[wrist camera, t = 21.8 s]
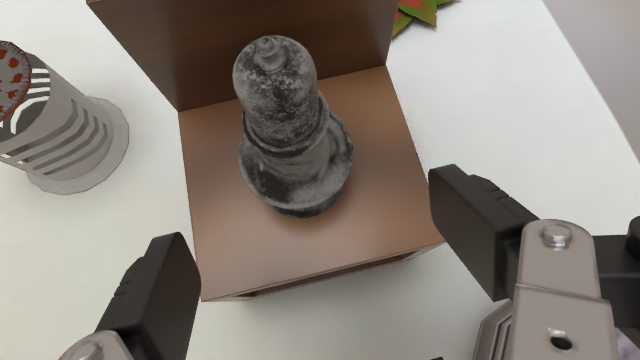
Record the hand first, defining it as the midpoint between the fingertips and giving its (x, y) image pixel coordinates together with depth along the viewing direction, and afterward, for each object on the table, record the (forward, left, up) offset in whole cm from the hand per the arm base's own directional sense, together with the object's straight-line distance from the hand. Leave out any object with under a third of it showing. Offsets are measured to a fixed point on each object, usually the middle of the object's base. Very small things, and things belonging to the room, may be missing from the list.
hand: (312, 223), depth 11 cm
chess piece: (+4, +3, -9) cm, 10 cm away
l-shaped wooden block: (+4, +3, -18) cm, 19 cm away
